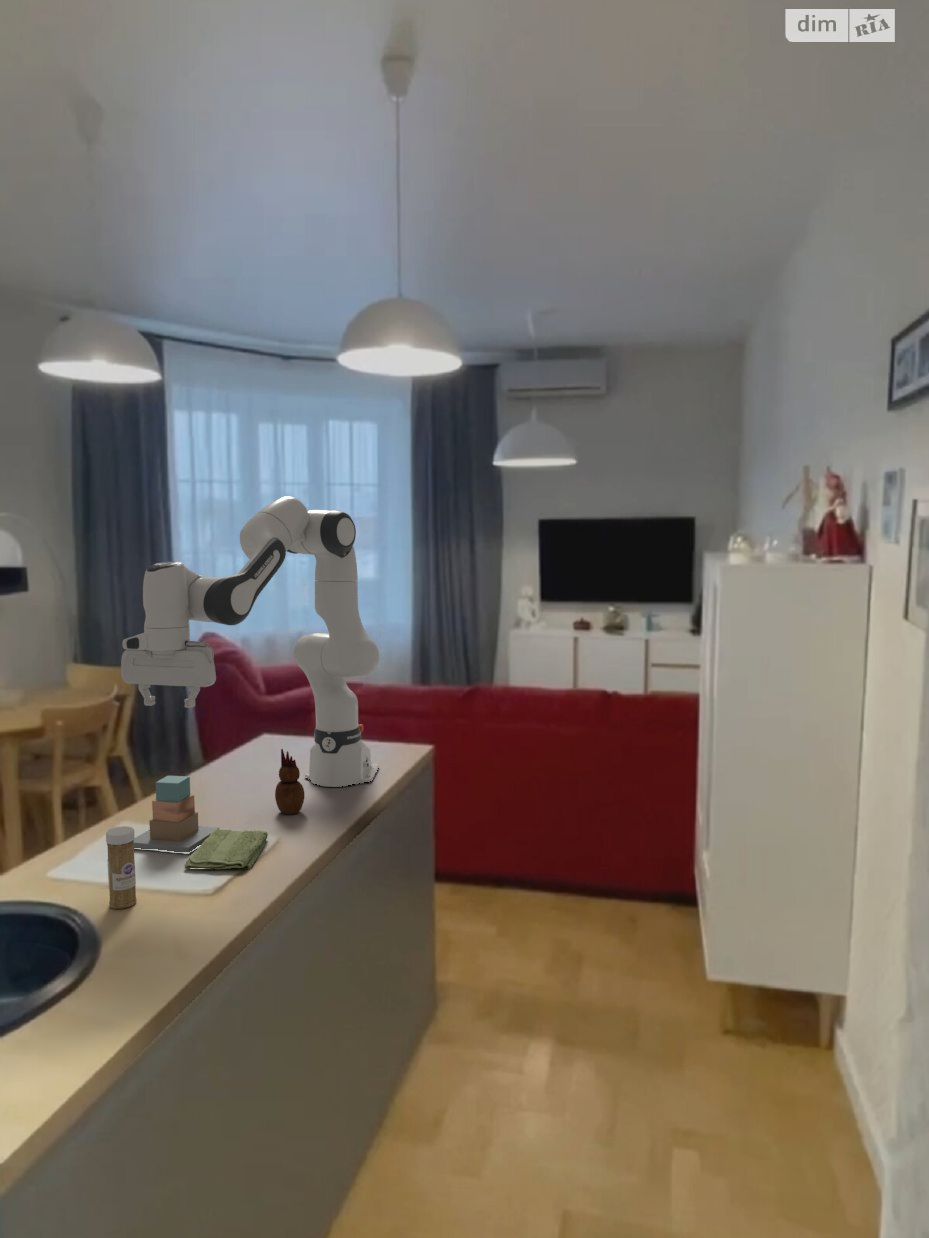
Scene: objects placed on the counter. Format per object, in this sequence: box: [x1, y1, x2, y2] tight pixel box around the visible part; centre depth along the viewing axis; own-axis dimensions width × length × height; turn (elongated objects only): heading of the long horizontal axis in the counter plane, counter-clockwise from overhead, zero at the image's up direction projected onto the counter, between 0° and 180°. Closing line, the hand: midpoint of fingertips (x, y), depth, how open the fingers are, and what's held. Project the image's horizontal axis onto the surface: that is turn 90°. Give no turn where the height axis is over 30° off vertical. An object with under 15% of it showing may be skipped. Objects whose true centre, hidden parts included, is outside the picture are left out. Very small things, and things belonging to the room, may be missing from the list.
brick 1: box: [155, 775, 191, 802], centre depth 174 cm, size 5×5×4 cm
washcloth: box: [184, 828, 269, 870], centre depth 168 cm, size 13×18×3 cm
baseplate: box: [133, 811, 220, 852], centre depth 175 cm, size 12×14×6 cm
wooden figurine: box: [274, 748, 305, 815], centre depth 193 cm, size 7×6×15 cm
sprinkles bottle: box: [105, 825, 138, 910], centre depth 144 cm, size 5×5×14 cm
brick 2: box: [151, 793, 196, 822], centre depth 174 cm, size 6×6×4 cm
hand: (169, 706), depth 172 cm, fingers open, 8 cm apart
